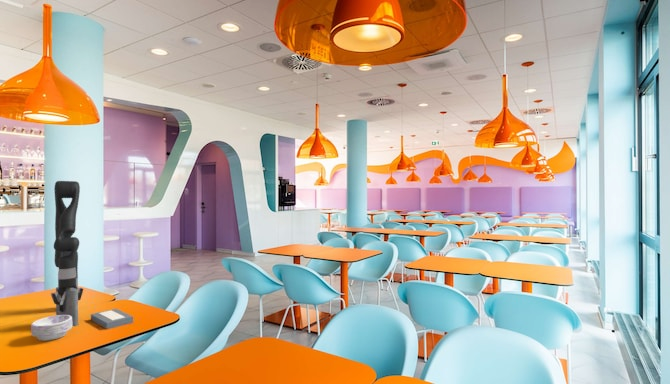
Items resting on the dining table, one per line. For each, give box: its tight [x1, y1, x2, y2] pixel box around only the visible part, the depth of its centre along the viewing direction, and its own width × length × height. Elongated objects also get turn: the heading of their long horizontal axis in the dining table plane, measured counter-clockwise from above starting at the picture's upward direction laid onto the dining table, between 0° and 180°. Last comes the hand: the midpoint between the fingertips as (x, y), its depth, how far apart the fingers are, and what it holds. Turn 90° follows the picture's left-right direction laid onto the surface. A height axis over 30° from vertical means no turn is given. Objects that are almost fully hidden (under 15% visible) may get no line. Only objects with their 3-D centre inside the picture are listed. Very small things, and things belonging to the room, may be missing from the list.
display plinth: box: [90, 308, 134, 330], centre depth 197 cm, size 22×12×3 cm, turn 50°
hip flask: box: [55, 286, 79, 327], centre depth 195 cm, size 16×4×20 cm, turn 63°
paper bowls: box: [30, 314, 73, 342], centre depth 176 cm, size 15×15×8 cm
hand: (67, 310), depth 195 cm, fingers closed on hip flask, 4 cm apart
